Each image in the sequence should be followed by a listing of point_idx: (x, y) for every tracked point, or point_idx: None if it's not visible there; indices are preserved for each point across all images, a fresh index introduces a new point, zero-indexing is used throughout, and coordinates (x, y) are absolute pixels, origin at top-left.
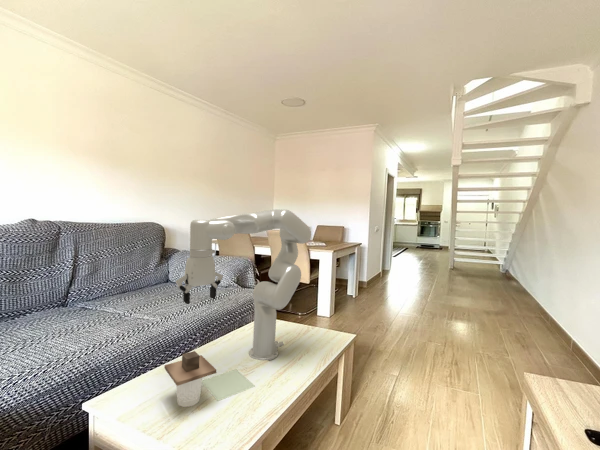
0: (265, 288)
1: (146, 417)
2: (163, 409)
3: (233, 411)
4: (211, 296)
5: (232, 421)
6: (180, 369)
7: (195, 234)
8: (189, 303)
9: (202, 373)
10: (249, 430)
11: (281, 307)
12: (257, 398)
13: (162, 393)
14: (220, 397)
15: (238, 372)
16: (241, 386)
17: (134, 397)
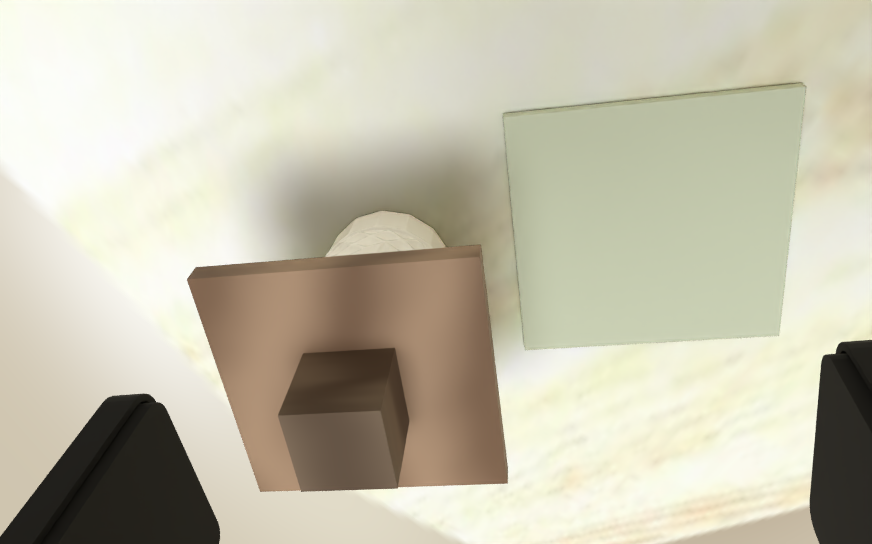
0: None
1: None
2: (264, 261)
3: (566, 426)
4: (831, 458)
5: (533, 471)
6: (291, 380)
7: None
8: (215, 535)
9: (414, 480)
10: (570, 534)
11: None
12: (721, 406)
13: (261, 115)
14: (549, 331)
15: (789, 143)
16: (704, 301)
17: (104, 74)
